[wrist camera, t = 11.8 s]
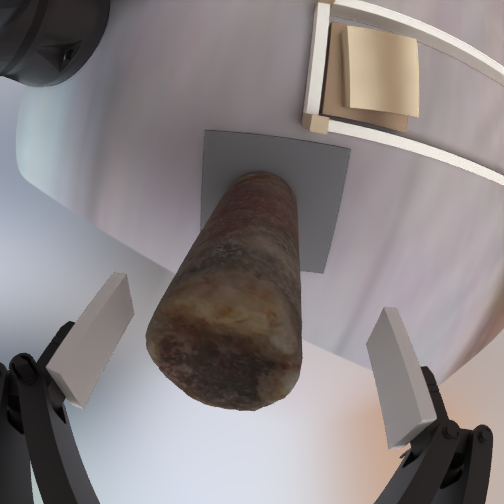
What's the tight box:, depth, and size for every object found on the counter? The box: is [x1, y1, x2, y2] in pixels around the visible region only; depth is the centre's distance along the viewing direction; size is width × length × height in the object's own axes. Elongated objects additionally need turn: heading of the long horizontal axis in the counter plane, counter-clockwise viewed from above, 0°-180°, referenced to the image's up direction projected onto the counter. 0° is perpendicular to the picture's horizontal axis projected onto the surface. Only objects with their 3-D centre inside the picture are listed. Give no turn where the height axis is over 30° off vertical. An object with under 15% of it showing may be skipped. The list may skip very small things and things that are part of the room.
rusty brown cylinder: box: [146, 172, 302, 411], centre depth 20 cm, size 8×7×20 cm
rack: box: [301, 0, 504, 185], centre depth 18 cm, size 28×13×8 cm, turn 85°
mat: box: [200, 130, 351, 274], centre depth 29 cm, size 14×14×1 cm
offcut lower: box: [319, 22, 408, 133], centre depth 21 cm, size 8×9×3 cm
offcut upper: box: [340, 26, 419, 117], centre depth 18 cm, size 6×7×3 cm
